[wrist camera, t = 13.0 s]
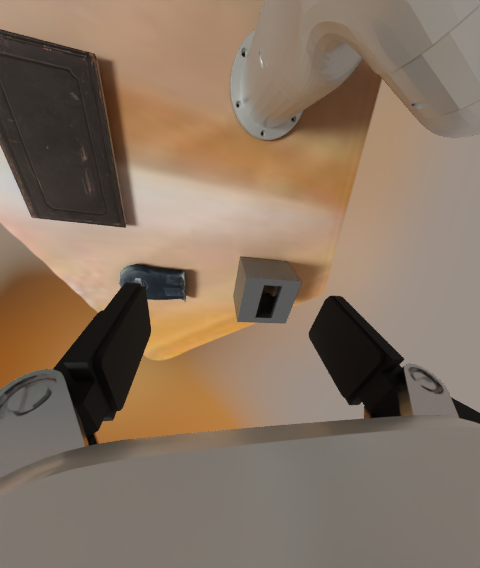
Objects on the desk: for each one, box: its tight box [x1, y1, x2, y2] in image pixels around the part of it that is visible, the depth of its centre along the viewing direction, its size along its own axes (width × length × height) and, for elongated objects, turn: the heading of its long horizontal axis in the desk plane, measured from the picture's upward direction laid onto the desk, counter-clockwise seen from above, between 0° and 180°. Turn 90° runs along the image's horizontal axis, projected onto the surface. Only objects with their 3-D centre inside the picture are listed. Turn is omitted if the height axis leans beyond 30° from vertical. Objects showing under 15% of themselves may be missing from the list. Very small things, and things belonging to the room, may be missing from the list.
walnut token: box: [263, 285, 280, 296], centre depth 46 cm, size 6×2×5 cm
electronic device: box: [119, 265, 187, 302], centre depth 44 cm, size 9×6×15 cm
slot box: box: [233, 257, 302, 323], centre depth 44 cm, size 12×12×10 cm
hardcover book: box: [0, 30, 126, 227], centre depth 29 cm, size 16×23×2 cm
